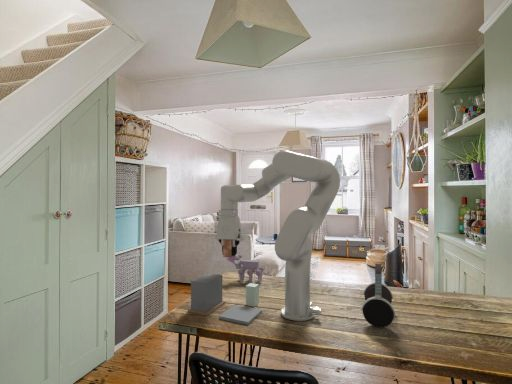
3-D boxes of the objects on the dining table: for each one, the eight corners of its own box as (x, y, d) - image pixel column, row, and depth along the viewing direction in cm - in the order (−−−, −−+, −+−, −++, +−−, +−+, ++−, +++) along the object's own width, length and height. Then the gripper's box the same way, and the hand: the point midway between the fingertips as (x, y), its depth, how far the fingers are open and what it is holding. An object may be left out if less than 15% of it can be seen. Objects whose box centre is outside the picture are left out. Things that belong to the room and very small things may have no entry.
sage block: (258, 303, 125) (258, 284, 125) (254, 306, 121) (254, 287, 121) (250, 301, 126) (250, 283, 126) (245, 305, 123) (246, 285, 123)
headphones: (361, 326, 103) (361, 269, 103) (363, 305, 122) (363, 257, 122) (395, 332, 99) (395, 272, 99) (392, 309, 118) (392, 259, 118)
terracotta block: (235, 256, 132) (235, 238, 132) (231, 257, 128) (231, 239, 129) (227, 255, 134) (227, 237, 134) (223, 257, 130) (223, 238, 130)
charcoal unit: (225, 303, 124) (225, 275, 124) (207, 315, 112) (207, 283, 112) (206, 300, 128) (206, 272, 128) (187, 311, 116) (188, 280, 116)
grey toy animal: (222, 282, 153) (223, 255, 154) (228, 277, 163) (229, 252, 164) (260, 285, 149) (261, 257, 149) (264, 280, 159) (264, 254, 160)
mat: (262, 312, 115) (262, 309, 115) (248, 325, 104) (248, 322, 104) (234, 307, 120) (234, 304, 120) (219, 318, 109) (219, 316, 109)
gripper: (208, 213, 131) (208, 254, 131) (242, 214, 124) (242, 258, 124) (217, 212, 138) (218, 251, 138) (250, 213, 131) (250, 254, 131)
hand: (229, 254), depth 131 cm, fingers closed on terracotta block, 4 cm apart
